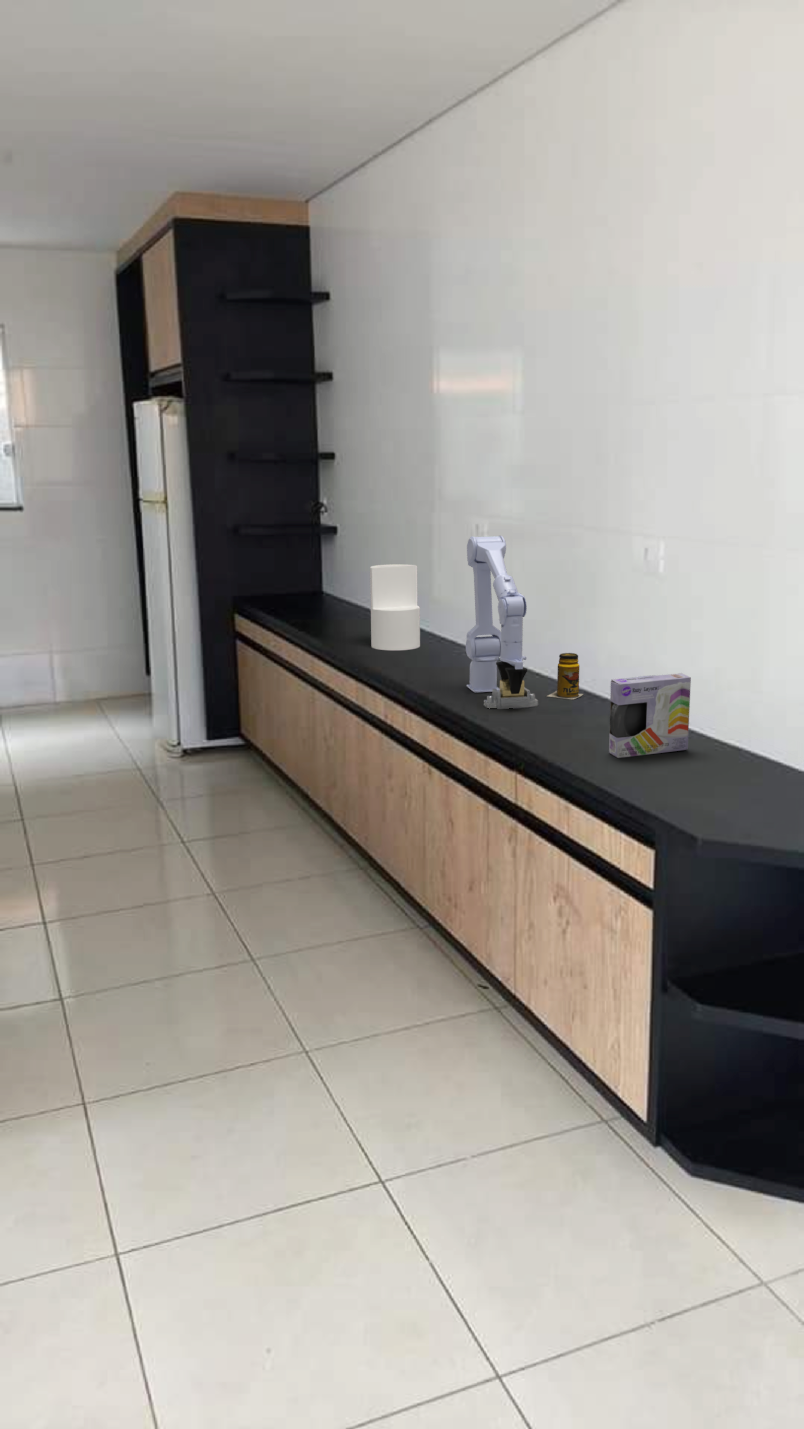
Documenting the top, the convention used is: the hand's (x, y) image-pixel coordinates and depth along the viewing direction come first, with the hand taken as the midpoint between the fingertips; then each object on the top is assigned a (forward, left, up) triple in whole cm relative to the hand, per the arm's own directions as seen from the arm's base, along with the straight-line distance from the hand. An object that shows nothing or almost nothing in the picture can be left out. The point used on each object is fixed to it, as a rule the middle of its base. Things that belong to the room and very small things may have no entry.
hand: (511, 690), depth 304 cm
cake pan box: (+53, +16, -4) cm, 56 cm away
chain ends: (0, 0, -4) cm, 4 cm away
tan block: (0, 0, -3) cm, 3 cm away
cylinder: (-101, -12, -4) cm, 102 cm away
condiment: (-9, +18, -4) cm, 21 cm away
